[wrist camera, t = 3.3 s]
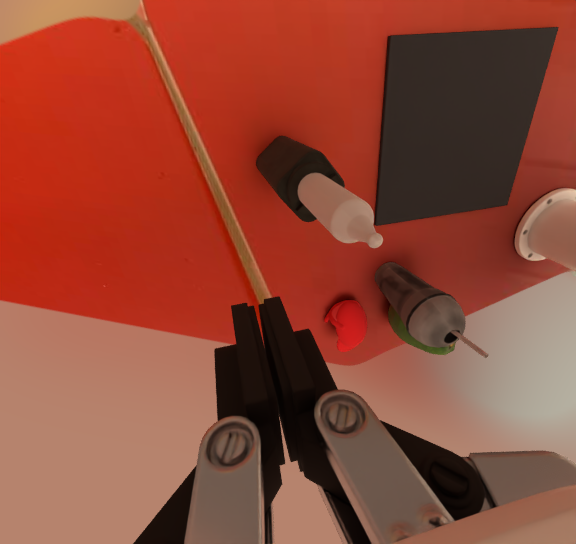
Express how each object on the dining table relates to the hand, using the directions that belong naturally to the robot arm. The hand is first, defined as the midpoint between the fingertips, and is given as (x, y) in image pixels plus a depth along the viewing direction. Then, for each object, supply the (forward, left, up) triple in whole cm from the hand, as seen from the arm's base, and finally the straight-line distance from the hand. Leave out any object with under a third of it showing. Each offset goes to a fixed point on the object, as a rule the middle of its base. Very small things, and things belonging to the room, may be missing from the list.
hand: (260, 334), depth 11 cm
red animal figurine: (-15, +25, -31) cm, 42 cm away
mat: (-31, -1, -30) cm, 44 cm away
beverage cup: (-23, +19, -31) cm, 43 cm away
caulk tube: (-7, 0, -31) cm, 31 cm away
